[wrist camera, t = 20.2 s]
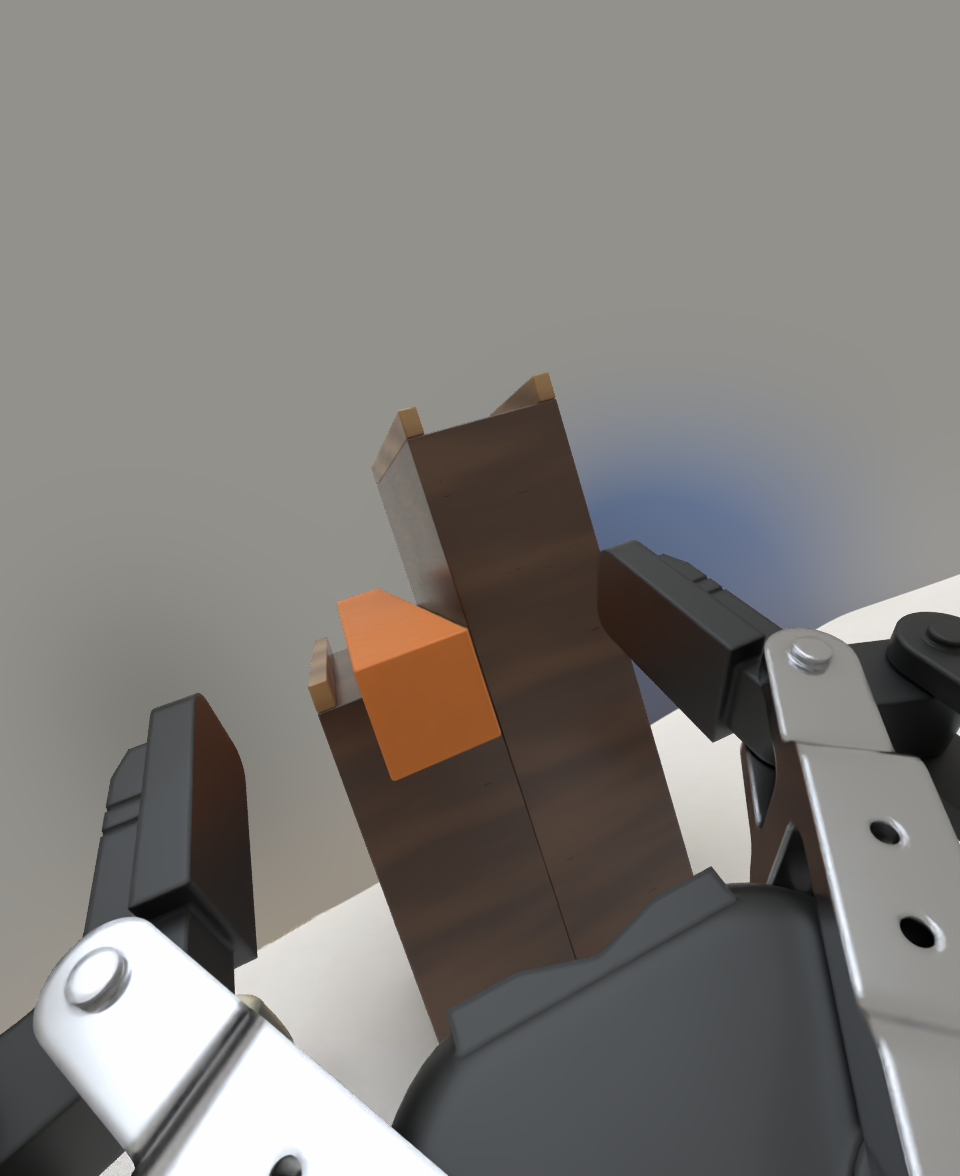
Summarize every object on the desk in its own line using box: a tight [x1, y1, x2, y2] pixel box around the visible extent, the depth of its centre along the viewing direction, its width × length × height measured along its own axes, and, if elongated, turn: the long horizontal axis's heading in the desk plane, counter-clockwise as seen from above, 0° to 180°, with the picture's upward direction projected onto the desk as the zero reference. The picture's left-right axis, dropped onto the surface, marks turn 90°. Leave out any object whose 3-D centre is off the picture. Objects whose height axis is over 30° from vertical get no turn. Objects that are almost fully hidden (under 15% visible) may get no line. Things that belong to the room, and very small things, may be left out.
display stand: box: [308, 372, 693, 1044], centre depth 31 cm, size 14×14×33 cm
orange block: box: [337, 588, 501, 781], centre depth 26 cm, size 25×3×3 cm, turn 17°
